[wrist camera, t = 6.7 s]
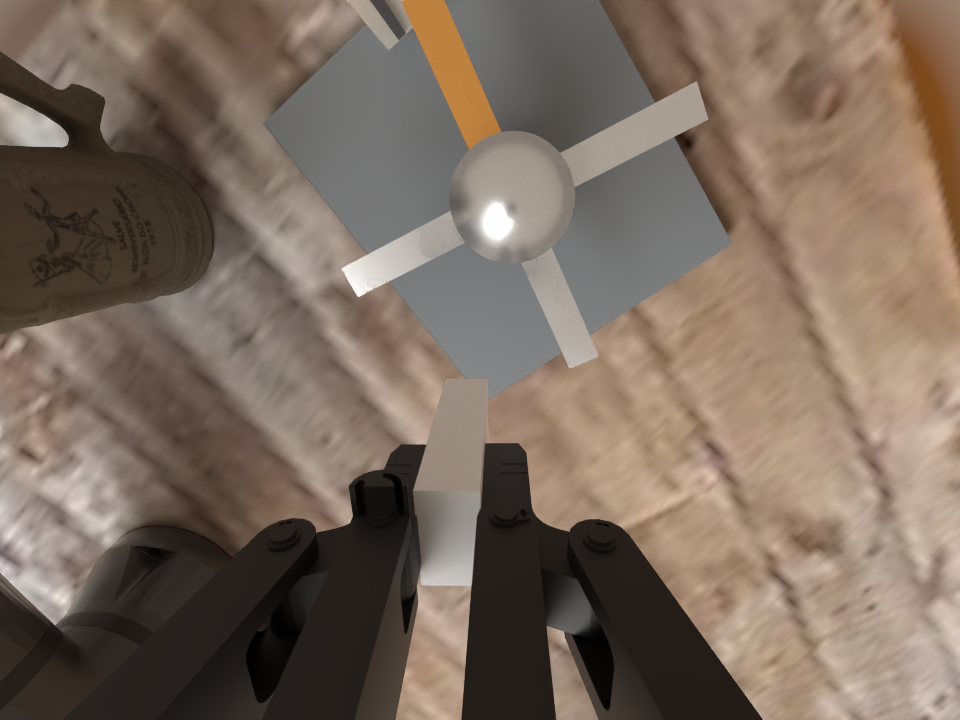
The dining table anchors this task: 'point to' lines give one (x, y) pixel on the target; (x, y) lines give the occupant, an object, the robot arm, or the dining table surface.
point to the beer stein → (88, 216)
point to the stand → (440, 147)
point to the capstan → (515, 183)
